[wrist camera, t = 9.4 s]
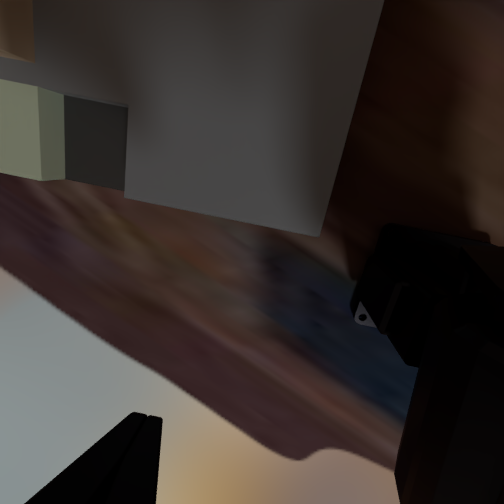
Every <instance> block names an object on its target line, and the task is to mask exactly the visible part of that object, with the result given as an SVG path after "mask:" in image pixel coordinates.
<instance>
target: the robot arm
mask: <svg viewBox="0 0 504 504" xmlns="http://www.w3.org/2000/svg"><path fill="white" fill-rule="evenodd" d="M392 229H394V230H395V233H394V234H393V235H392V236H389V235H388V232H389V231H390V230H392ZM356 295H357V296H358V300H357V303H356V306H355V309H354V312H353V317H354V319H355V321H356V322H357V323H358V324H361V325H366V326H371V327H376V328H377V329H378V330H379V332H380V333H381V334H384V335H387V336H388V338H389V339H390V341H391V343H392V344H393V346H394V347H395V349H396V350H397V352H398V353H399V355H400V356H401V358H402V359H403V361H404V362H405V364H407V365H409V366H414V367H418V368H419V369H418V373H417V377H416V381H415V385H414V389H413V393H412V397H411V401H410V405H409V409H408V413H407V417H406V421H405V425H404V429H403V433H402V437H401V441H400V445H399V449H398V454H397V460H396V466H395V472H394V475H395V480H396V485H397V490H398V495H399V500H400V504H504V247H498V246H496V245H493V244H491V243H487V242H483V241H478V240H473V239H468V238H463V237H458V236H453V235H448V234H443V233H438V232H433V231H428V230H423V229H418V228H413V227H408V226H403V225H398V224H394V223H389V224H387V225H385V226H384V227H383V229H382V231H381V233H380V236H379V239H378V242H377V245H376V248H375V251H374V254H373V255H371V256H370V257H368V259H367V262H366V265H365V268H364V271H363V274H362V277H361V280H360V283H359V286H358V289H357V292H356ZM361 314H365V316H364V317H362V318H359V315H361ZM162 422H163V419H162V418H161V417H157V416H152V415H150V416H148V417H147V415H146V414H142V413H137V412H132V413H131V414H129V415H128V416H127V417H126V418H125V419H123V420H122V421H121V422H120V423H119V424H117V425H116V426H115V427H114V428H113V429H112V430H110V431H109V432H108V433H107V434H106V435H105V436H103V437H102V438H101V439H100V440H99V441H97V442H96V443H95V444H94V445H93V446H92V447H90V448H89V449H88V450H87V451H86V452H85V453H83V454H82V455H81V456H80V457H79V458H77V459H76V460H75V461H74V462H73V463H72V464H70V465H69V466H68V467H67V468H66V469H64V470H63V471H62V472H61V473H60V474H59V475H57V476H56V477H55V478H54V479H53V480H52V481H50V482H49V483H48V484H47V485H46V486H44V487H43V488H42V489H41V490H40V491H39V492H37V493H36V494H35V495H34V496H33V497H32V498H30V499H29V500H28V501H27V502H26V503H24V504H156V494H157V482H158V471H159V458H160V446H161V435H162Z"/></svg>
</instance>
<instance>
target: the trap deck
mask: <svg viewBox="0 0 504 504" xmlns="http://www.w3.org/2000/svg"><path fill="white" fill-rule="evenodd" d="M383 4H384V0H32V5H33V27H34V50H35V63H31V62H26V61H21V60H16V59H11V58H6V57H1V56H0V173H5V174H10V175H15V176H20V177H25V178H30V179H35V180H40V181H46V180H58V179H68V180H73V181H78V182H83V183H88V184H93V185H98V186H103V187H107V188H112V189H117V190H122V191H125V192H124V198H128V199H133V200H138V201H143V202H148V203H153V204H158V205H163V206H167V207H172V208H177V209H182V210H187V211H192V212H197V213H202V214H207V215H212V216H217V217H222V218H226V219H231V220H236V221H241V222H246V223H251V224H256V225H261V226H266V227H271V228H276V229H281V230H285V231H290V232H295V233H300V234H305V235H310V236H315V237H319V236H320V232H321V229H322V225H323V221H324V218H325V214H326V211H327V207H328V203H329V200H330V196H331V192H332V189H333V185H334V181H335V178H336V174H337V171H338V167H339V163H340V160H341V156H342V152H343V149H344V145H345V142H346V138H347V134H348V131H349V127H350V123H351V120H352V116H353V112H354V109H355V105H356V102H357V98H358V94H359V91H360V87H361V83H362V80H363V76H364V73H365V69H366V65H367V62H368V58H369V54H370V51H371V47H372V44H373V40H374V36H375V33H376V29H377V25H378V22H379V18H380V14H381V11H382V7H383Z"/></svg>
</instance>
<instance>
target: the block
mask: <svg viewBox="0 0 504 504" xmlns="http://www.w3.org/2000/svg"><path fill="white" fill-rule="evenodd" d="M0 56H1V57H6V58H11V59H16V60H21V61H26V62H31V63H35V50H34V27H33V5H32V0H0Z"/></svg>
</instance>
